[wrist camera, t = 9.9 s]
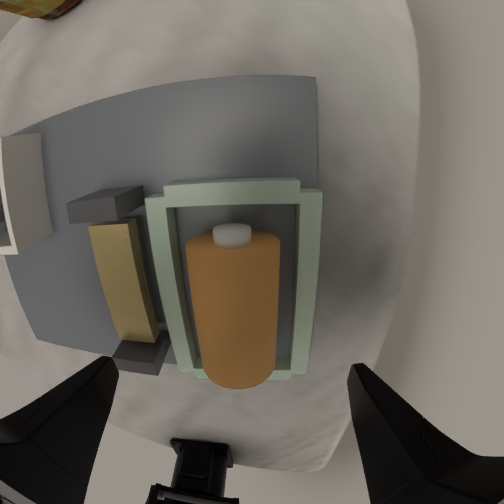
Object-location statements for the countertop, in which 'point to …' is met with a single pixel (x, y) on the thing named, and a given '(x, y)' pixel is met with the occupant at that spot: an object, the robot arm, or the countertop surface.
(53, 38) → the countertop surface
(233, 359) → the cell
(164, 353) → the grey fixture board
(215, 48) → the countertop surface
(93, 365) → the robot arm
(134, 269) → the plate
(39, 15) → the sauce bottle
